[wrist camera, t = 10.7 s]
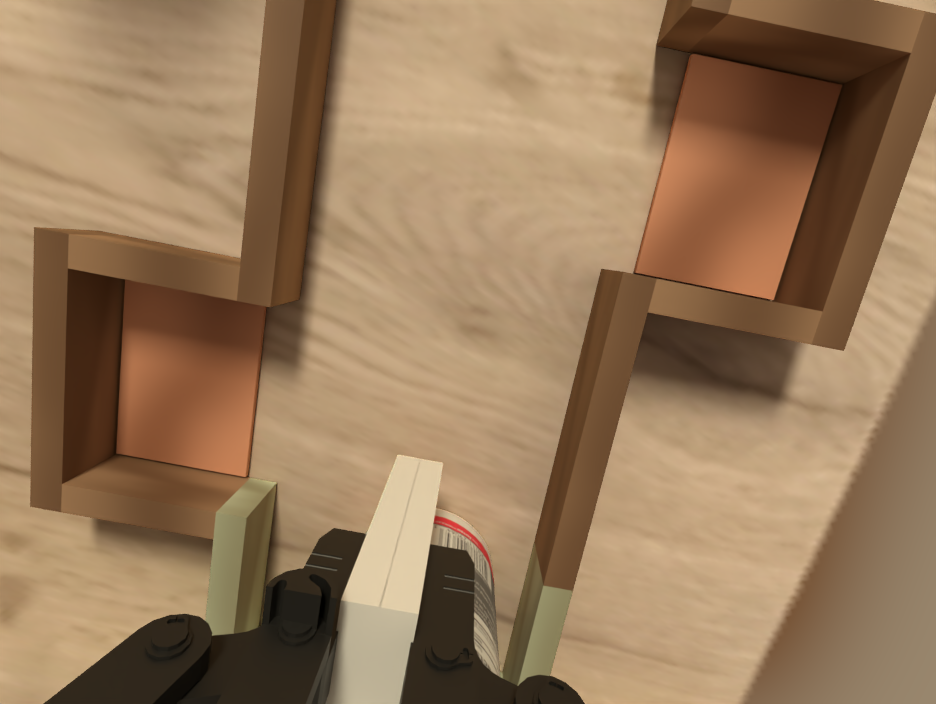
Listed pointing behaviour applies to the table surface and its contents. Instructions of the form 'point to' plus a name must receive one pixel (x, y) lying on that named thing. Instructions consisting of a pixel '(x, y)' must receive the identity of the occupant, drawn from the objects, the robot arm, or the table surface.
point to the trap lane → (612, 316)
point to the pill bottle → (465, 537)
